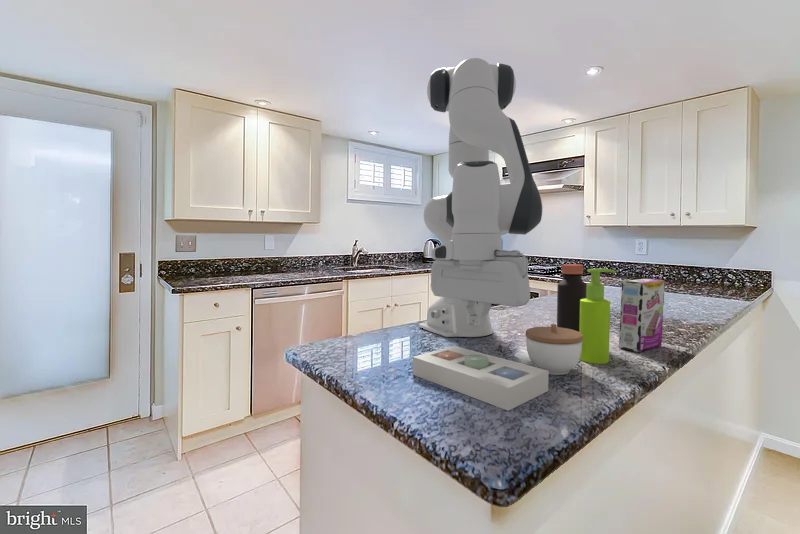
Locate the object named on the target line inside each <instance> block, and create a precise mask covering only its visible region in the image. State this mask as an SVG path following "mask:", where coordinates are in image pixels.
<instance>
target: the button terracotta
mask: <svg viewBox="0 0 800 534" xmlns="http://www.w3.org/2000/svg"><path fill="white" fill-rule="evenodd" d="M437 357H438V358H442V359H445V360H448V361H451V360H454V359H457V358H460V355H459V354H457V353H454V352H442V353H439V354H438V355H437Z"/></svg>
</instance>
